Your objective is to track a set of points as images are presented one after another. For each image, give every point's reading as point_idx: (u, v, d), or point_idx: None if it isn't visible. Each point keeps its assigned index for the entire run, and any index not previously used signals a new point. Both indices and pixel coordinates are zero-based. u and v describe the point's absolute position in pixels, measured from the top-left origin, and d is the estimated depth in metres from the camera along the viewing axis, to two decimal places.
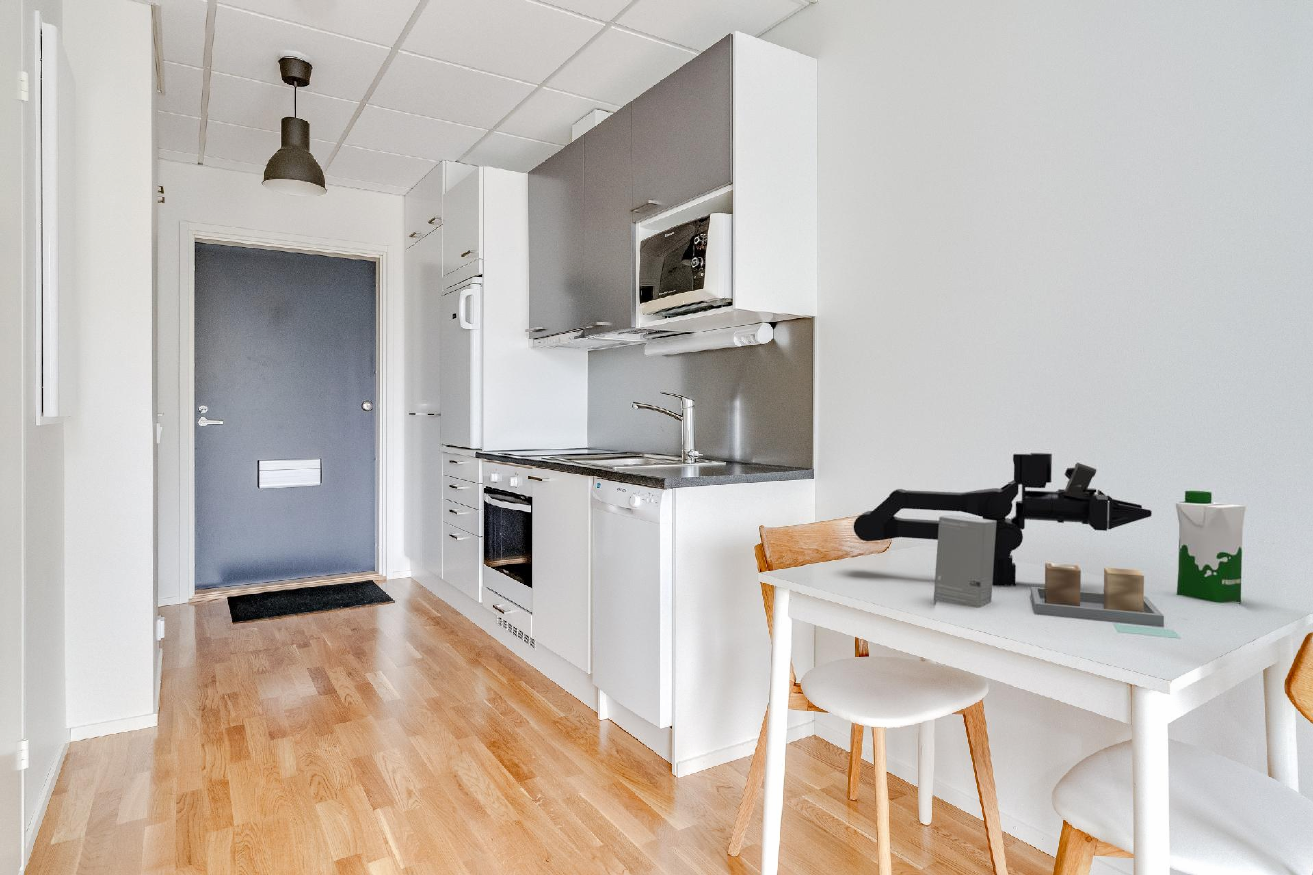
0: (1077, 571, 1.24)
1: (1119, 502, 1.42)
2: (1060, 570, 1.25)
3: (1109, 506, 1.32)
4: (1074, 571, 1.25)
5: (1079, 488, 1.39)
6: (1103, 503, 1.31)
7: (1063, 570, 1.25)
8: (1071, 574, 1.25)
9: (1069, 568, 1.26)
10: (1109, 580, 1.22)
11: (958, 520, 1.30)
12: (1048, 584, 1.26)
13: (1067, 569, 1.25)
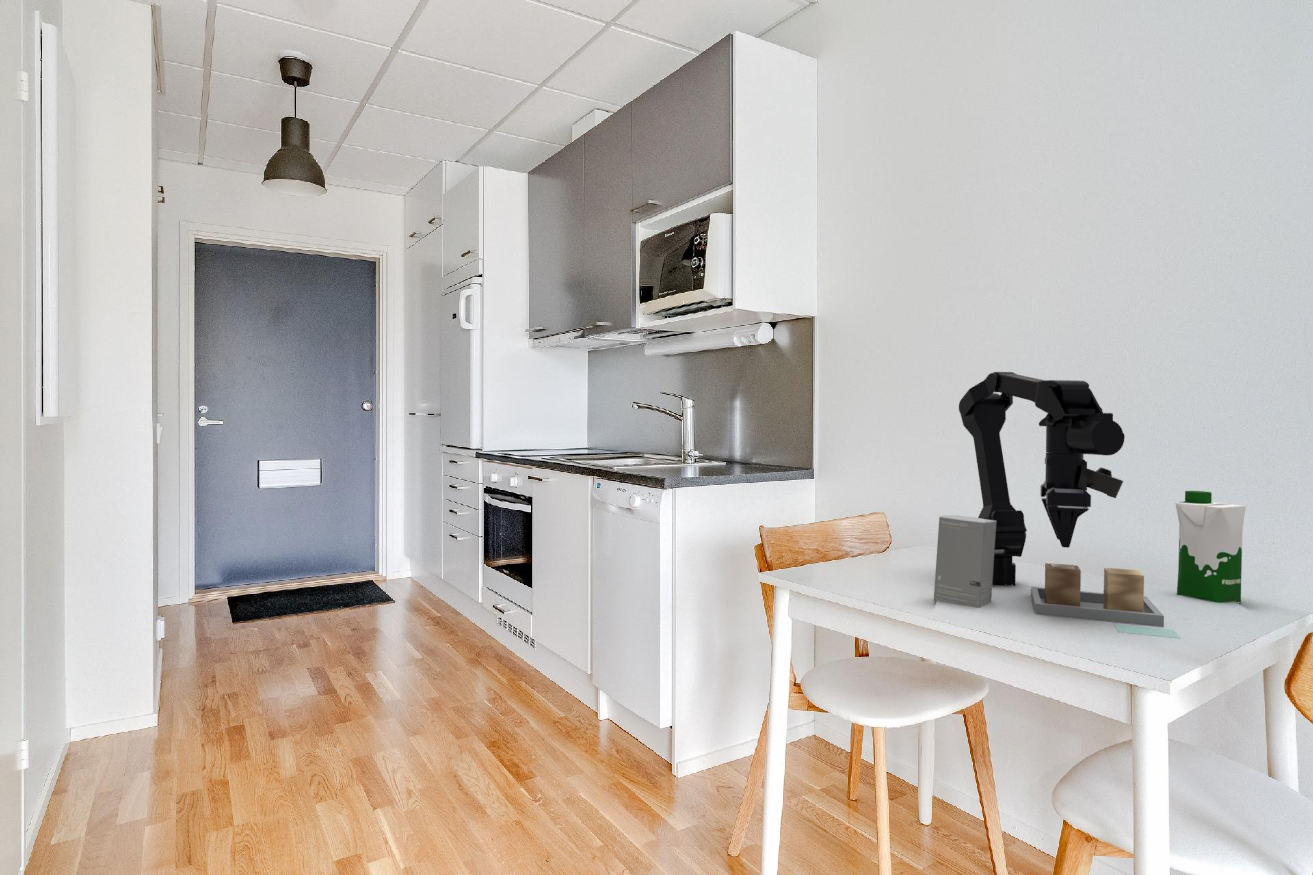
0: (1077, 571, 1.24)
1: None
2: (1060, 570, 1.25)
3: (1076, 508, 1.20)
4: (1074, 571, 1.25)
5: (1091, 480, 1.23)
6: (1082, 502, 1.18)
7: (1063, 570, 1.25)
8: (1071, 574, 1.25)
9: (1069, 568, 1.26)
10: (1109, 580, 1.22)
11: (958, 520, 1.30)
12: (1048, 584, 1.26)
13: (1067, 569, 1.25)
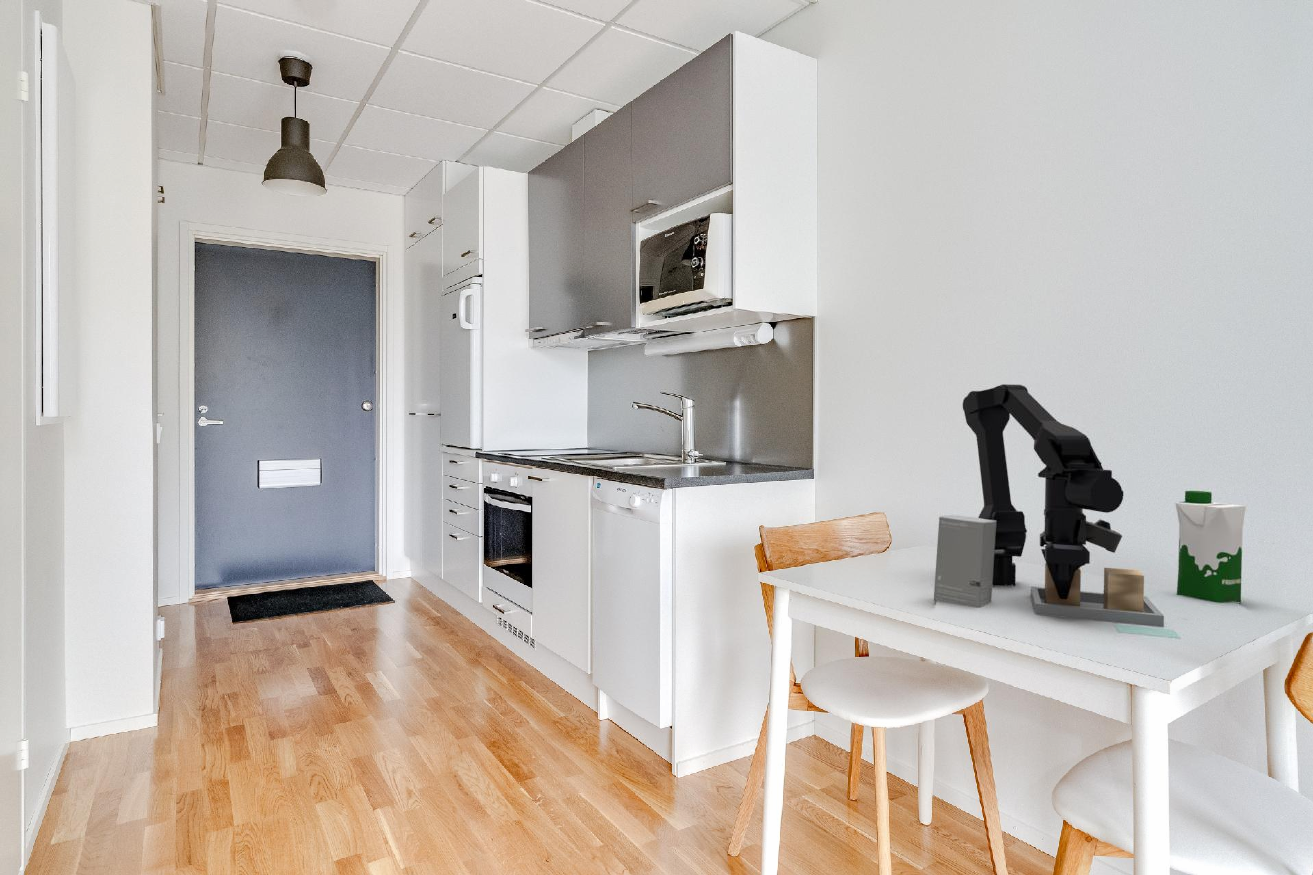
0: (1077, 571, 1.24)
1: None
2: None
3: None
4: None
5: (1090, 535, 1.23)
6: (1081, 559, 1.18)
7: None
8: None
9: None
10: (1109, 580, 1.22)
11: (958, 520, 1.30)
12: (1048, 584, 1.26)
13: None
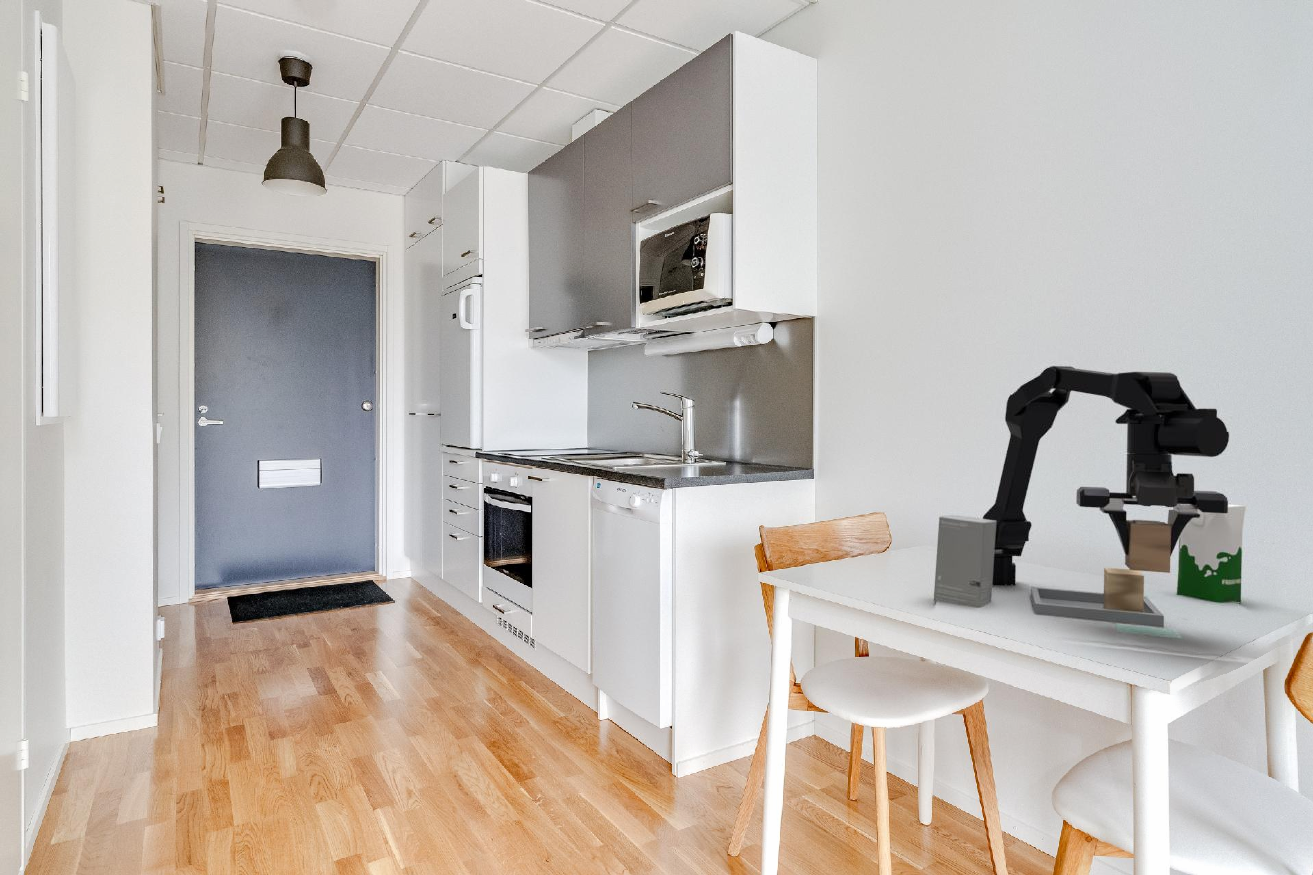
0: (1131, 524, 1.12)
1: None
2: (1127, 522, 1.14)
3: (1103, 509, 1.14)
4: (1130, 524, 1.13)
5: (1131, 484, 1.10)
6: (1079, 501, 1.15)
7: (1128, 523, 1.14)
8: (1129, 527, 1.13)
9: (1136, 522, 1.13)
10: (1109, 580, 1.22)
11: (958, 520, 1.30)
12: None
13: (1131, 522, 1.13)
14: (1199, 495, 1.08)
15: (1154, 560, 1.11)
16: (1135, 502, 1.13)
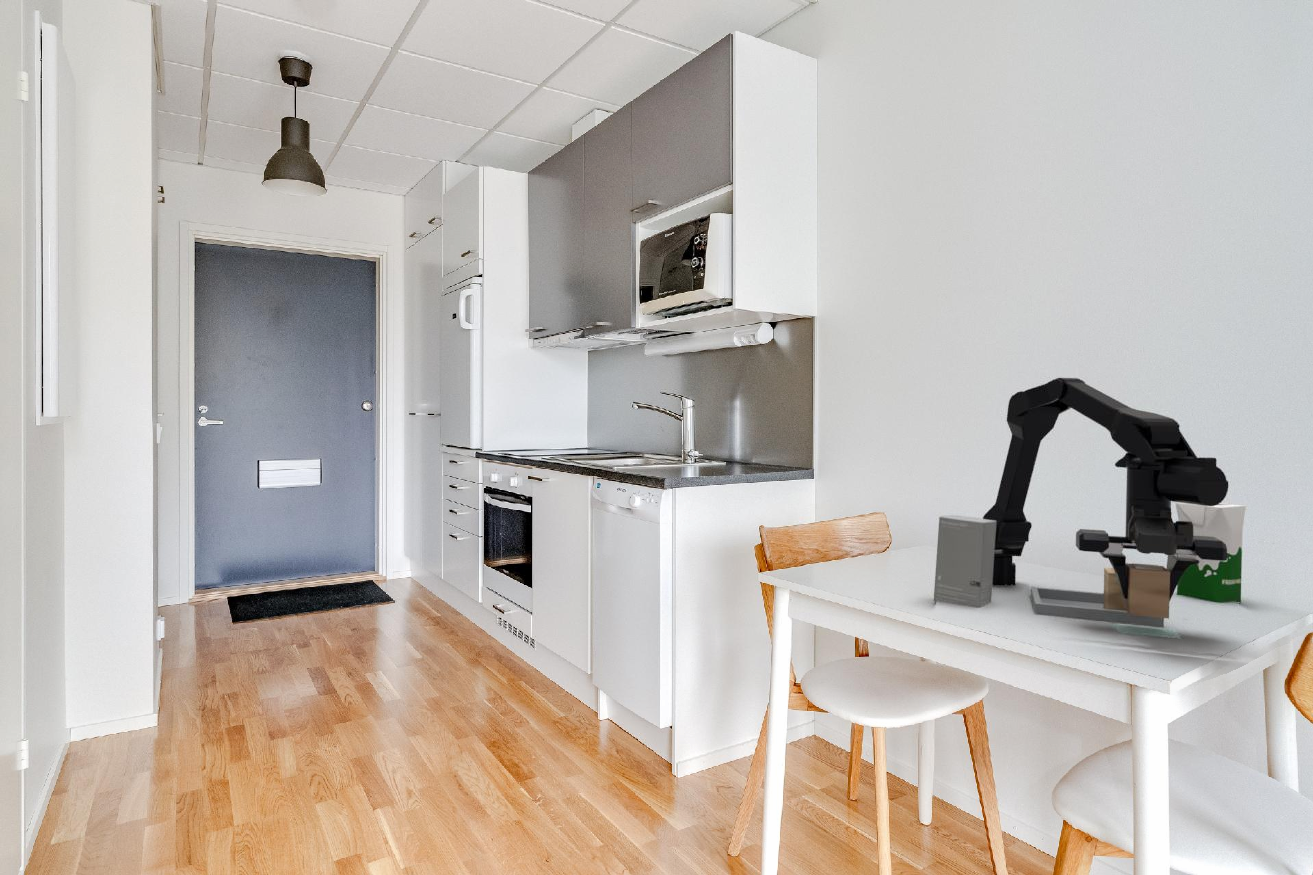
0: (1130, 569, 1.12)
1: None
2: (1127, 566, 1.15)
3: (1102, 553, 1.14)
4: (1129, 569, 1.13)
5: (1131, 529, 1.11)
6: (1078, 545, 1.15)
7: (1127, 567, 1.14)
8: (1128, 571, 1.13)
9: (1135, 566, 1.13)
10: (1109, 580, 1.22)
11: (958, 520, 1.30)
12: None
13: (1131, 566, 1.13)
14: (1199, 542, 1.08)
15: (1153, 605, 1.11)
16: (1134, 546, 1.13)
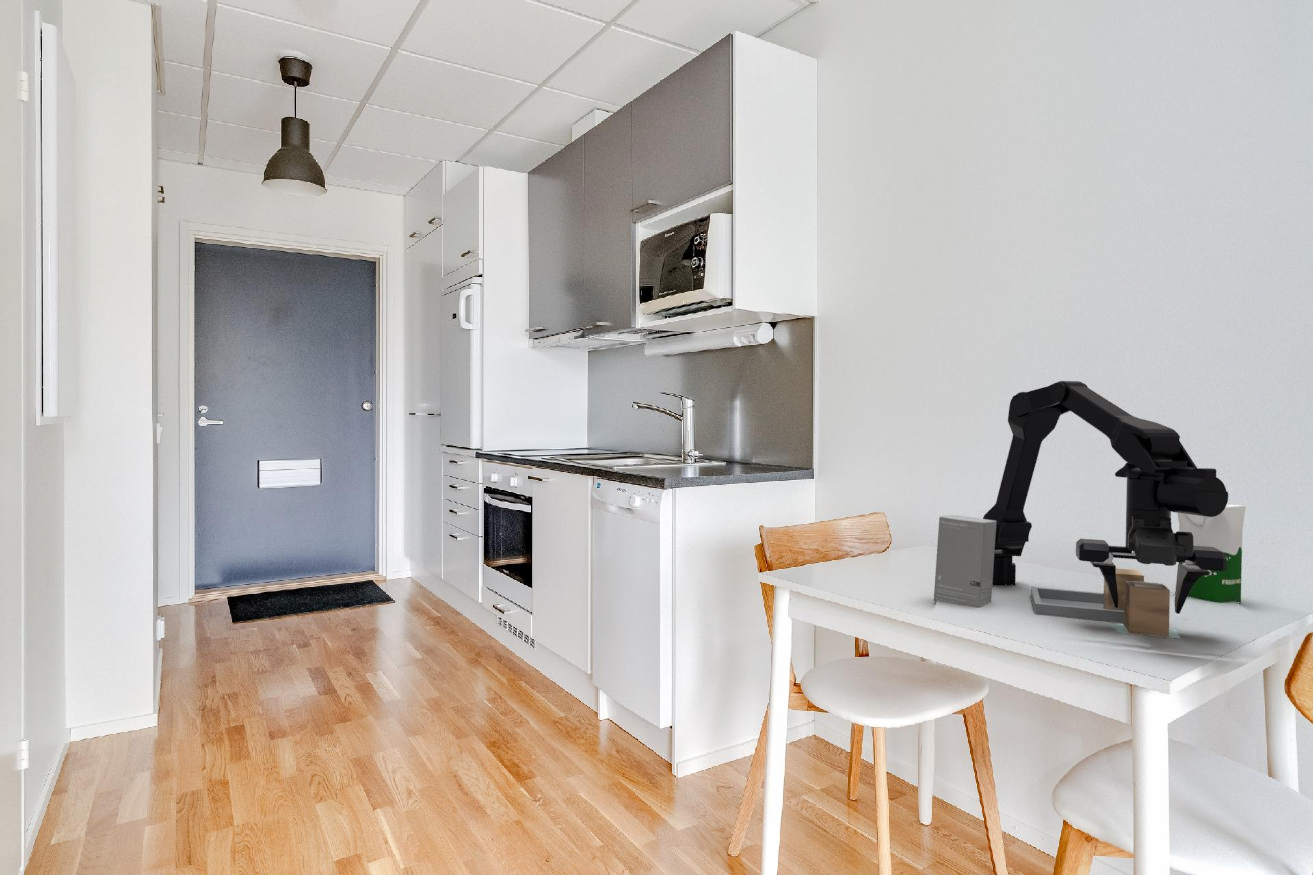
0: (1129, 587, 1.12)
1: (1179, 590, 1.11)
2: (1126, 584, 1.15)
3: (1092, 562, 1.15)
4: (1129, 587, 1.13)
5: (1131, 540, 1.11)
6: (1078, 555, 1.15)
7: (1127, 584, 1.14)
8: (1128, 589, 1.13)
9: (1134, 584, 1.13)
10: None
11: (958, 520, 1.30)
12: (1124, 598, 1.16)
13: (1130, 584, 1.14)
14: (1199, 552, 1.08)
15: (1153, 624, 1.11)
16: (1124, 556, 1.14)
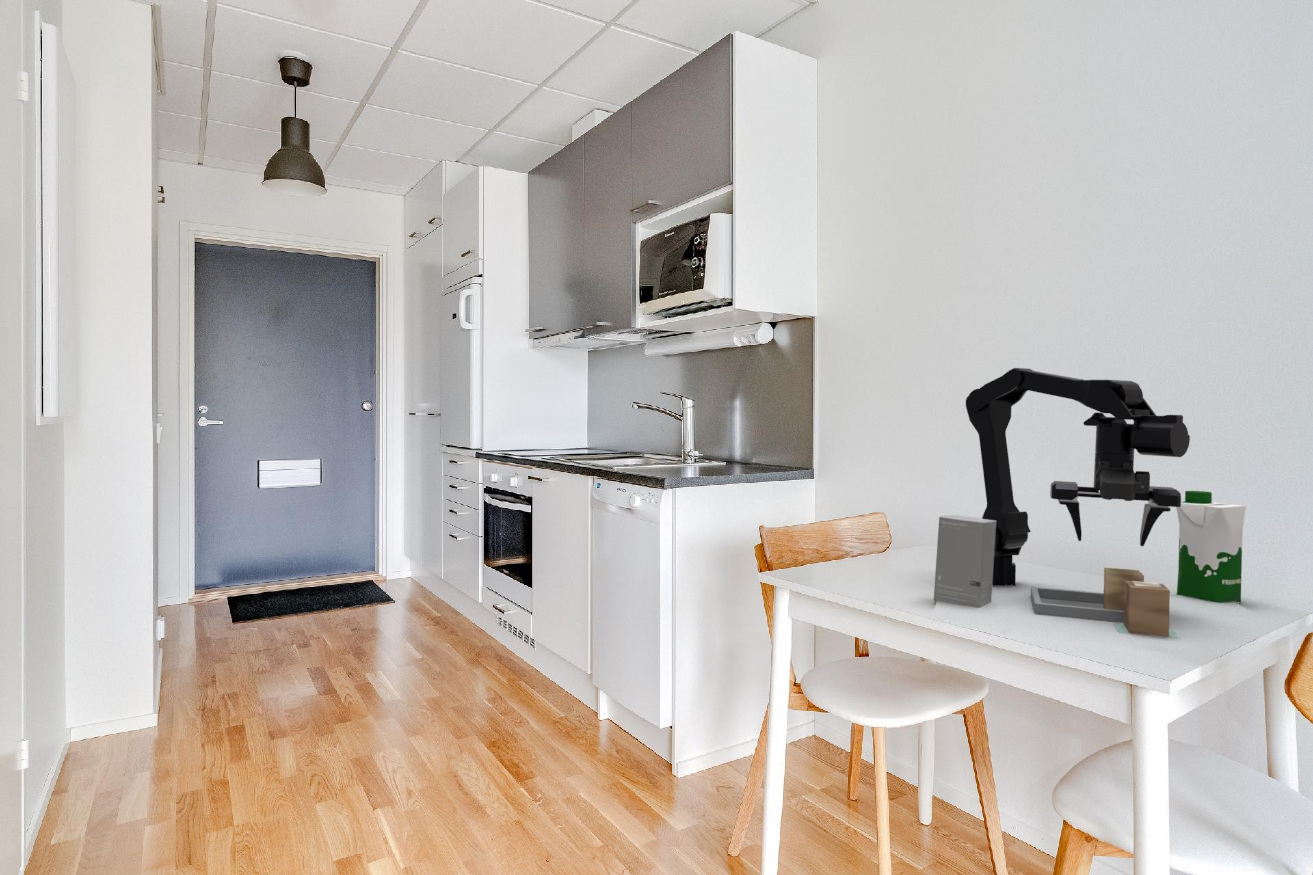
0: (1129, 587, 1.12)
1: (1144, 525, 1.24)
2: (1126, 584, 1.15)
3: (1059, 500, 1.29)
4: (1129, 587, 1.13)
5: (1097, 479, 1.25)
6: (1051, 494, 1.29)
7: (1127, 584, 1.14)
8: (1128, 589, 1.13)
9: (1134, 584, 1.13)
10: (1109, 580, 1.22)
11: (958, 520, 1.30)
12: (1124, 598, 1.16)
13: (1130, 584, 1.14)
14: (1156, 491, 1.22)
15: (1153, 624, 1.11)
16: (1088, 495, 1.28)
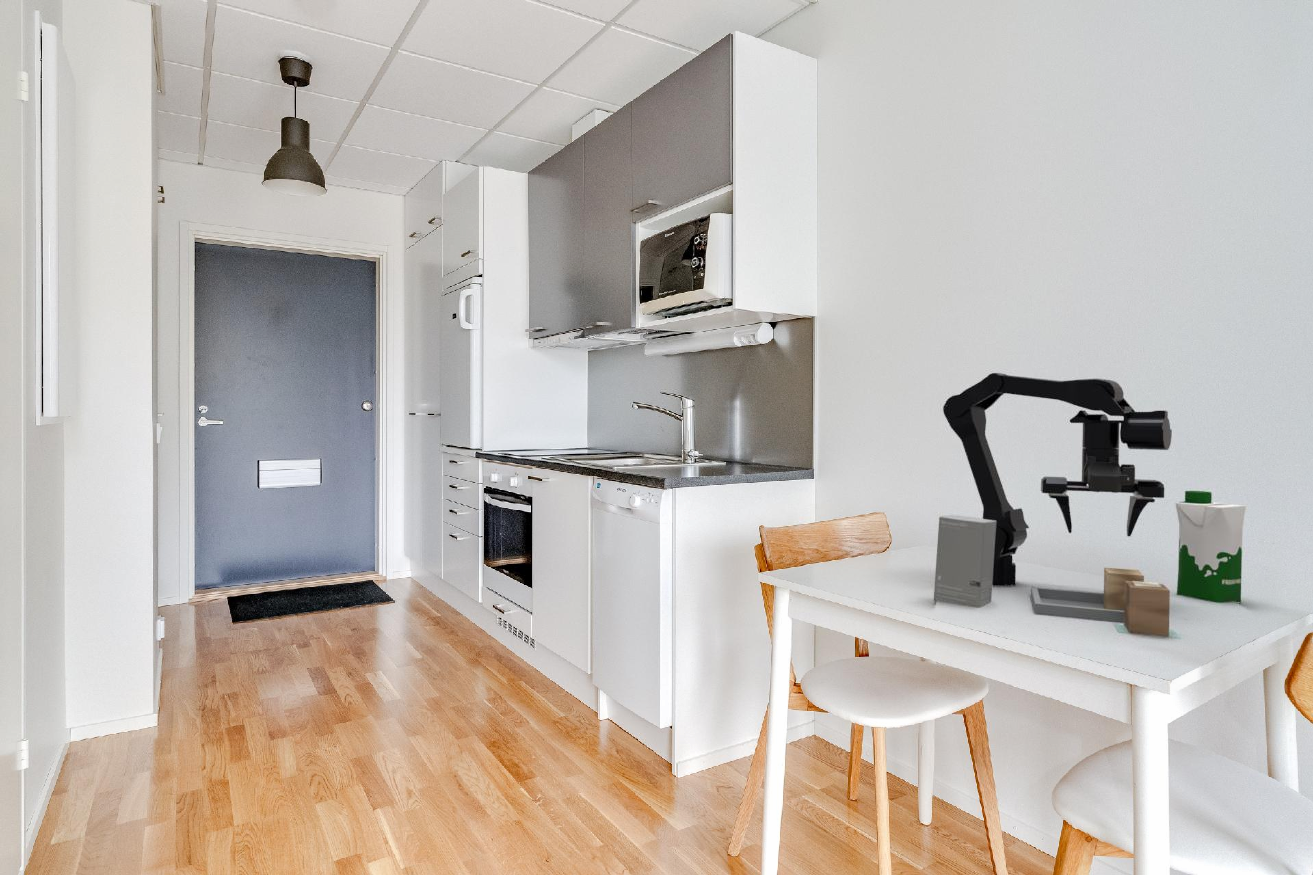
0: (1129, 587, 1.12)
1: (1130, 516, 1.31)
2: (1126, 584, 1.15)
3: (1050, 494, 1.36)
4: (1129, 587, 1.13)
5: (1085, 473, 1.31)
6: (1042, 489, 1.36)
7: (1127, 584, 1.14)
8: (1128, 589, 1.13)
9: (1134, 584, 1.13)
10: (1109, 580, 1.22)
11: (958, 520, 1.30)
12: (1124, 598, 1.16)
13: (1130, 584, 1.14)
14: (1141, 483, 1.29)
15: (1153, 624, 1.11)
16: (1077, 489, 1.35)
